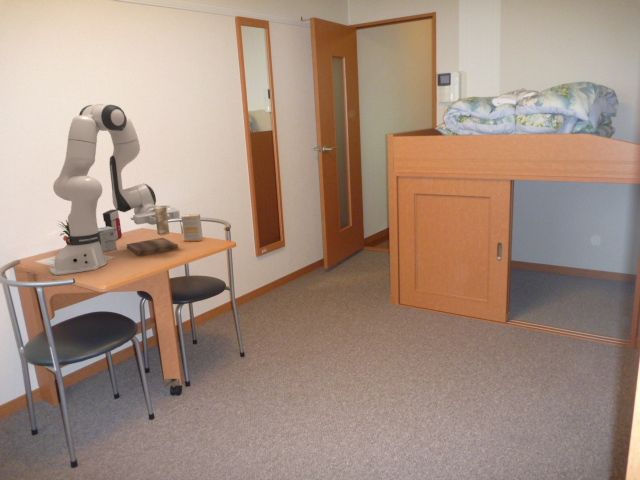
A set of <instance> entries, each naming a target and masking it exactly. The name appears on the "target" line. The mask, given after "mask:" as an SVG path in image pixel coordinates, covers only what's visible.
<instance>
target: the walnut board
mask: <svg viewBox="0 0 640 480" xmlns="http://www.w3.org/2000/svg"><path fill="white" fill-rule="evenodd" d="M126 248H127V249H128V250H130V251H131V252H133V253H135V254H137V255H138V256H140V257H141V256H146V255H150V254H151V255H152V254H156V253H161V252H168V251H172V250H178V249H179V245H178V243H176V242H173V241H171V240H169V239H166V238H164V237H158V238H154V239H149V240H148V239H147V240H141V241H137V242H131V243H127V244H126Z"/></svg>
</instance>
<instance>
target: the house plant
mask: <svg viewBox="0 0 640 480" xmlns="http://www.w3.org/2000/svg"><path fill="white" fill-rule="evenodd" d="M58 222H59V223H58V226H60V228H61V229H64V230H62V233H60V235H59V237H60V236H61V237H62V236H67V237H68V236H69V235H70V229H69V223H68V219H65V222H66V224H65V223H63V222H62V221H61V220H58ZM60 223H61V224H60ZM64 234H65V235H64Z"/></svg>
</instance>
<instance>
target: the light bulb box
mask: <svg viewBox="0 0 640 480" xmlns="http://www.w3.org/2000/svg"><path fill="white" fill-rule="evenodd" d="M98 232H99V233H100V237H101V248H102V251H103V253H106V252H110V251H114V250H117V249H118V248H117V242H116V240H115V234H114V228H113V227H109V226H107V227H106V226H103V227H99V228H98Z"/></svg>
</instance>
